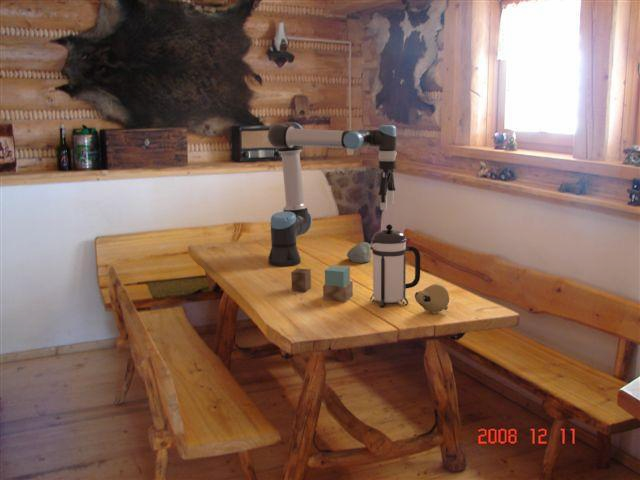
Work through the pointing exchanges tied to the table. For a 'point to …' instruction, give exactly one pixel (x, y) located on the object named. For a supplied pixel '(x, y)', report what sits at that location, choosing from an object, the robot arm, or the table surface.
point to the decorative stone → (360, 253)
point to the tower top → (337, 276)
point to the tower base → (338, 293)
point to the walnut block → (301, 280)
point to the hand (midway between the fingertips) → (386, 207)
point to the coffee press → (391, 266)
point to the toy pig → (433, 298)
